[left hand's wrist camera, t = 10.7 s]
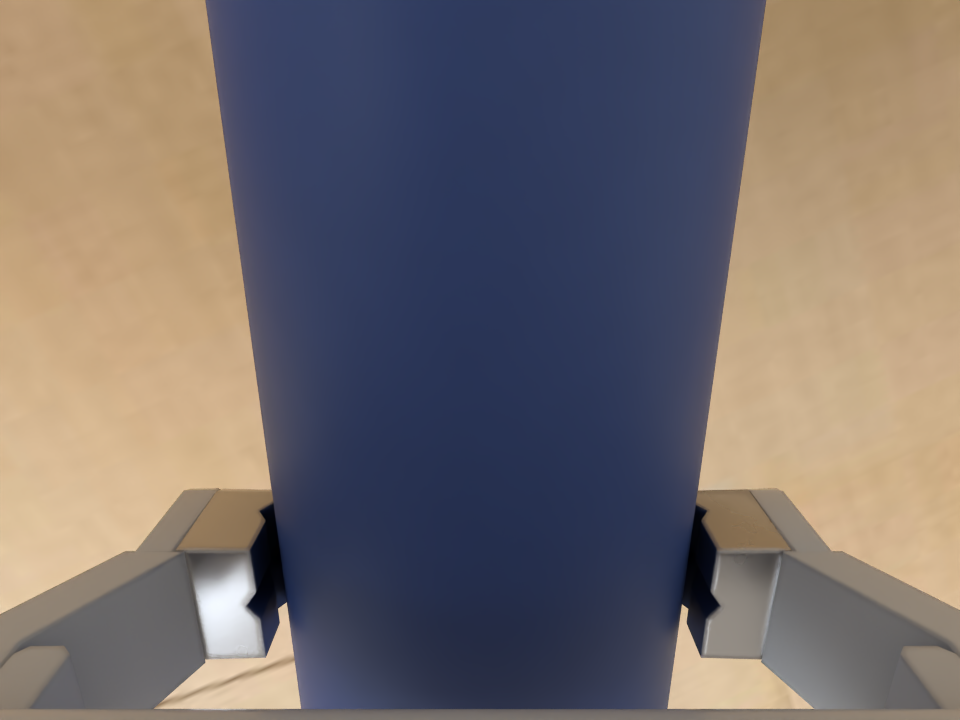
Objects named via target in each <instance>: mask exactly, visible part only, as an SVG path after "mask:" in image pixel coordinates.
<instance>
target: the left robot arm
mask: <svg viewBox="0 0 960 720" xmlns="http://www.w3.org/2000/svg"><path fill="white" fill-rule="evenodd" d="M286 602H287V599H286V591H285V584H284V577H283V569H282V562H281V554H280V547H279V540H278V532H277V525H276V517H275V510H274V503H273V495H272V490H251V489H222V490H221V489H189V490H185V491H183V492H182V493H181V495H180V496H179V497H178V498H177V500H176V501H175V502H174V503H173V505H172V506H171V507H170V508H169V510H168V511H167V512H166V514H165V515H164V516H163V517H162V519H161V520H160V521H159V522H158V524H157V525H156V526H155V527H154V529H153V530H152V531H151V532H150V534H149V535H148V536H147V537H146V539H145V540H144V541H143V543H142V544H141V545H140V546H139V548H138V549H137V550H136V551H125V552H123V553H121V554H119V555H117V556H115V557H113V558H111V559H109V560H107V561H105V562H103V563H101V564H99V565H97V566H95V567H93V568H91V569H89V570H87V571H85V572H83V573H81V574H79V575H77V576H75V577H73V578H71V579H69V580H67V581H65V582H63V583H61V584H59V585H57V586H55V587H53V588H52V589H50V590H48V591H46V592H44V593H42V594H40V595H38V596H36V597H34V598H32V599H30V600H28V601H26V602H24V603H22V604H20V605H18V606H16V607H14V608H12V609H10V610H8V611H6V612H4V613H2V614H0V720H960V610H958V609H956V608H954V607H952V606H950V605H948V604H946V603H944V602H942V601H940V600H938V599H936V598H934V597H932V596H930V595H928V594H926V593H924V592H922V591H920V590H918V589H916V588H914V587H912V586H910V585H908V584H906V583H904V582H902V581H900V580H898V579H896V578H894V577H892V576H890V575H888V574H886V573H884V572H882V571H880V570H878V569H876V568H874V567H872V566H870V565H868V564H866V563H864V562H862V561H860V560H858V559H856V558H854V557H852V556H850V555H848V554H846V553H844V552H842V551H831V550H830V549H829V547H828V546H827V545H826V544H825V542H824V541H823V540H822V539H821V537H820V536H819V535H818V534H817V533H816V531H815V530H814V529H813V528H812V526H811V525H810V524H809V523H808V521H807V520H806V519H805V518H804V517H803V515H802V514H801V513H800V512H799V510H798V509H797V508H796V507H795V505H794V504H793V503H792V502H791V501H790V499H789V498H788V497H787V496H786V494H785V493H784V492H783V491H781V490H779V489H777V488H769V489H744V490H706V491H698V492H697V499H696V506H695V513H694V520H693V528H692V535H691V542H690V549H689V556H688V563H687V571H686V578H685V585H684V592H683V599H682V604H683V605H684V606H685V607H687V608H688V617H687V625H688V627H689V630H690V632H691V634H692V637H693V639H694V642H695V644H696V646H697V649H698V651H699V654H700V656H701V658H734V659H762V661H761V662H762V663H763V664H764V665H765V666H766V667H768V668H769V669H770V670H771V671H772V672H773V673H774V674H775V675H777V676H778V677H779V678H780V679H781V680H782V681H783V682H785V683H786V684H787V685H788V686H789V687H790V688H791V689H793V690H794V691H795V692H796V693H797V694H798V695H799V696H801V697H802V698H803V699H804V700H805V701H806V702H807V703H809V704H810V705H811V706H812V707H813V708H814V709H153V708H154V707H156V706H157V705H158V704H159V703H160V702H161V701H162V700H164V699H165V698H166V697H167V696H168V695H169V694H170V693H171V692H173V691H174V690H175V689H176V688H177V687H178V686H179V685H180V684H182V683H183V682H184V681H185V680H186V679H187V678H188V677H190V676H191V675H192V674H193V673H194V672H195V671H196V670H197V669H199V668H200V667H201V666H202V665H203V664H204V663H205V659H232V658H266V656H267V653H268V651H269V648H270V646H271V643H272V641H273V638H274V636H275V633H276V631H277V628H278V626H279V623H280V622H279V614H278V608H279V607H281V606H282V605H283V604H285V603H286Z"/></svg>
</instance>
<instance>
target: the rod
mask: <svg viewBox="0 0 960 720" xmlns="http://www.w3.org/2000/svg"><path fill="white" fill-rule="evenodd" d="M765 5H766V0H206V8H207V15H208V23H209V30H210V37H211V45H212V52H213V59H214V67H215V74H216V82H217V89H218V96H219V104H220V111H221V119H222V126H223V133H224V141H225V148H226V156H227V163H228V170H229V178H230V185H231V192H232V200H233V207H234V215H235V222H236V229H237V237H238V244H239V252H240V259H241V266H242V274H243V281H244V288H245V296H246V303H247V311H248V318H249V325H250V333H251V340H252V348H253V355H254V362H255V370H256V377H257V385H258V392H259V399H260V407H261V414H262V421H263V429H264V436H265V444H266V451H267V458H268V466H269V473H270V481H271V488H272V495H273V503H274V510H275V517H276V525H277V532H278V540H279V547H280V554H281V562H282V569H283V577H284V584H285V591H286V599H287V606H288V614H289V621H290V628H291V636H292V643H293V650H294V658H295V665H296V673H297V680H298V687H299V695H300V702H301V709H667V707H668V700H669V692H670V685H671V678H672V671H673V664H674V657H675V649H676V642H677V635H678V628H679V621H680V614H681V606H682V599H683V592H684V585H685V578H686V571H687V563H688V556H689V549H690V542H691V535H692V528H693V520H694V513H695V506H696V499H697V492H698V485H699V477H700V470H701V463H702V456H703V449H704V442H705V434H706V427H707V420H708V413H709V406H710V399H711V392H712V384H713V377H714V370H715V363H716V356H717V349H718V341H719V334H720V327H721V320H722V313H723V306H724V298H725V291H726V284H727V277H728V270H729V263H730V255H731V248H732V241H733V234H734V227H735V220H736V212H737V205H738V198H739V191H740V184H741V177H742V169H743V162H744V155H745V148H746V141H747V134H748V126H749V119H750V112H751V105H752V98H753V91H754V83H755V76H756V69H757V62H758V55H759V48H760V40H761V33H762V26H763V19H764V12H765Z"/></svg>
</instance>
